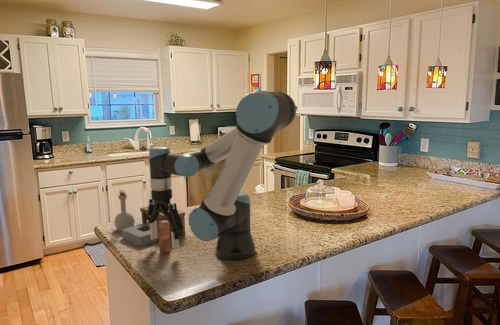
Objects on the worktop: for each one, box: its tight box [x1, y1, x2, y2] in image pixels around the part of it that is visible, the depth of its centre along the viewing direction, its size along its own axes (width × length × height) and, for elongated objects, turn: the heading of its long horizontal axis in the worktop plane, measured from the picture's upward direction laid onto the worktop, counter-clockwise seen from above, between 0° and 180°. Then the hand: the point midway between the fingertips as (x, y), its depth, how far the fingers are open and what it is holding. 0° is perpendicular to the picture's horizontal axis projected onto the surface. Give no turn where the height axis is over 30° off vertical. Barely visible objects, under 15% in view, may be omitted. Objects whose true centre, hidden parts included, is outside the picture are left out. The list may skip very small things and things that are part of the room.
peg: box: [158, 220, 171, 255], centre depth 139 cm, size 4×4×12 cm
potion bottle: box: [114, 189, 136, 232], centre depth 165 cm, size 9×9×18 cm
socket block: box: [121, 221, 159, 247], centre depth 155 cm, size 14×14×4 cm
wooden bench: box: [139, 205, 186, 241], centre depth 161 cm, size 21×8×10 cm, turn 49°
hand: (164, 242), depth 140 cm, fingers open, 13 cm apart
